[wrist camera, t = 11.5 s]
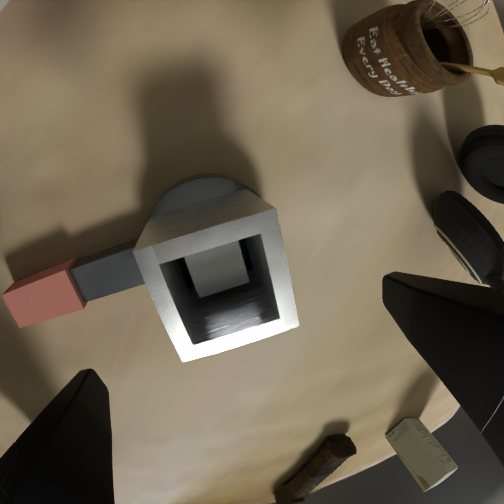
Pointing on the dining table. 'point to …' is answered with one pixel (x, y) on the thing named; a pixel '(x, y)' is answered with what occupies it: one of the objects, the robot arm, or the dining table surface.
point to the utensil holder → (411, 50)
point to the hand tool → (316, 469)
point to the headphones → (468, 216)
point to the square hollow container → (227, 301)
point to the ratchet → (131, 264)
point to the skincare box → (421, 453)
